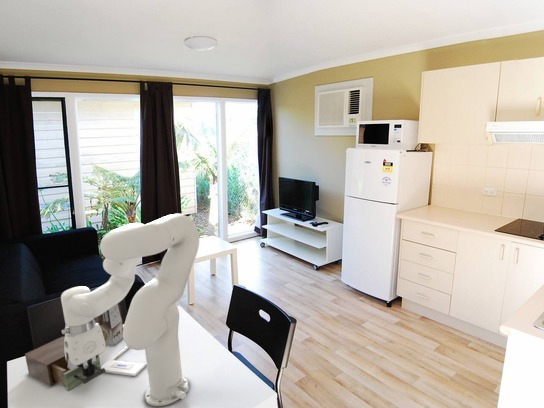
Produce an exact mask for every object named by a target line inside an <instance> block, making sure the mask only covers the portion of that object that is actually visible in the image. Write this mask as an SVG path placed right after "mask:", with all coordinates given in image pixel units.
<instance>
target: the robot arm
mask: <svg viewBox="0 0 544 408" xmlns="http://www.w3.org/2000/svg"><path fill="white" fill-rule="evenodd" d="M99 244H100V245H99V250H100V252H101V254H102V256H103V258H104V260H103V261H102V267H103V270H104V271H105V272H106V273H107V274H109V275H111V276H110V277H109V279H108V280H107V282H105V283H104V284H102V285H101V286H99V287H97V288H95V289H93V290H91V289H90V288H89V287H87V286H82V285H81V286H74V287H71V288H68V289H66V290H64V291H63V292H62V293H61V295H60V301H61V307H62V312H63V318H64V323H65V325H64V328H63V329H61V334H62V335H64V337H65V339H64V350H65V358H66V361H67V362H68V366H67V368H69V369H73V368H76V367H81V368H82V373H83V376H86V377H89V376H91V375H92V374H94V373H95V372H94V371H95V365H94V364H95V363H96V359H97V357H98V356H99V357H100V355H101V354H102V353H104V352H105V350H106V347H107V345H106V344H105V340H104V336H103V333H102V330H101V328H100V326H99V324H98V323H95V317H98V316H100V315H101V314H103V313H104V312H106V311H107V310H109V309H110V308H111V307H113V306H114V305H116V304H117V303H119V302H120V303H121V302H122V301H123V300H124V299H125V298H126V296H127V295H128V294H129V292H130V290H131V289H132V287H133V285H134V283H135V279H136V274H135V273H136V272H135V269H136V268H137V266H138V264H139V262H140V260H141V259H142V258H143V257H149V256H153V255H157V254H160V253H162V252H164V251H166V250H167V251H166V252H165V254H164V256H163V258H162V260H161V262H160V266H159V269H158V272H157V274H156V276H154V278H153V279H152V280H150V281H149V282H147V283H146V284H145V285H143V286H141V287H140V288H139V290H137V291H136V293H135V294H134V296H133V297H132V299H131V302H130V304H129V308H128V310H127V313H126V314H127V315H126V316H125V321H124V323H123V338H122V340H123V341H124V344H125V345H126V346H128V347H129V349H131V350H133V351H143V350H144V352H145V362H146V361H147V365H146V368H147V369H146V370H147V375H148V384H149V387H148V388H147V390H146V391H145V394H144V398H145V403H147V404H148V405H150V406H153V407H163V406H168V405H170V404H173V403H175V402H177V401H178V400H179V399H181V400H184V399H186V397H187V392H189V390H190V386H189V381H188V379H187V377H184V376H183V372H182V362H181V351H180V341H179V324H180V311H179V308H178V305H177V304H176V303H177V302H178V301H179V300H180V299H181V298H182V296H183V295H184V292H185V289H186V286H187V283H188V282H189V281H188V280H189V278H190V275H191V271H192V269H193V266H194V263H195V260H196V257H197V254H198V251H199V247H200V235H199V230H198V228H197V226H196V224H195V223H194V221H193V220H192V219H191V218H190V217H188V216H187V215H185V214H183V213H182V214H181V213H174V214H168V215H166V216H162V217H161V218H158V219H155V220H153V221H151V222H148V223H146V224H144V223H141V222H133V223H128V224H125V225H123V226H119V227H118V228H115V229H112V230H110V231H108V232H107V233H106V234H104V236H103V237H102V239H101V241H100V243H99Z"/></svg>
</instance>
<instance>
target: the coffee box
mask: <svg viewBox="0 0 544 408" xmlns="http://www.w3.org/2000/svg"><path fill="white" fill-rule="evenodd" d="M95 323H98V324H99V326H100V328H101V330H102V333H103V336H104V340H105V344H106V346H115V345H117V344H118V343H119V342H120V341H122V340H123V327H124V323H123V316H122V309H121V301H120V302H119V303H117V304H116V305H114V306H113V307H111V308H110V309H109V310H107V311H106V312H104V313H103V314H101V315H100V316H98V317H95Z"/></svg>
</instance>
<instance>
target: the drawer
mask: <svg viewBox="0 0 544 408" xmlns="http://www.w3.org/2000/svg"><path fill="white" fill-rule="evenodd" d="M94 365H95V371H94V372H95V373H94V374H92V375H91V376H89V377H86V376H83V373H82V368H81V367H76V368H73V369H69V368H67V366H68V362H67V361H66V358H64V359H62V360H60V361H58V362H56V363H54V364H52V365H50V369H51V374H52V379H53V380H54V381H56V382H58V383H57V384H60V385H62V386H63V387H65V390H66V391H67V392H70V391H72V390H74V389H75V388H77V387H79V386H80V385H82V384H83V385H86V384H87V383H89V382H91V381H92V380H94V379H96V378H97V377H99V376H100V375H102V374H105V373H106V372H105V369H104V368H102V369H101V366H102V365H101V360H100V355H99V356H98V357H97V359H96V363H95V364H94Z"/></svg>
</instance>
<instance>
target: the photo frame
mask: <svg viewBox="0 0 544 408" xmlns="http://www.w3.org/2000/svg"><path fill="white" fill-rule="evenodd" d="M129 349H130V347H128V346H127V345H126V346H124V347H123V348H122V349H121V350H119V351H118V352H117V353H115V355H113V356H112V357H111V358H109V359H108V360H107V361H106V362H105V363H103V364H102V365H101V369H102V368H104V369H105V372H104V373H107V374H114V375H115V374H116V375H122V376H123V375H124V376H131V377H132V376H133V377H136V376H137V375H138V374H139V373H140V372H141V371H142V370H143V369H144V368H145V367H147V361H146V360H145V362H144V363H142V362H134V361H126V360H117V358H118V357H119V356H121V355H122V354H123V353H125V352H126V351H127V350H129Z"/></svg>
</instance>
